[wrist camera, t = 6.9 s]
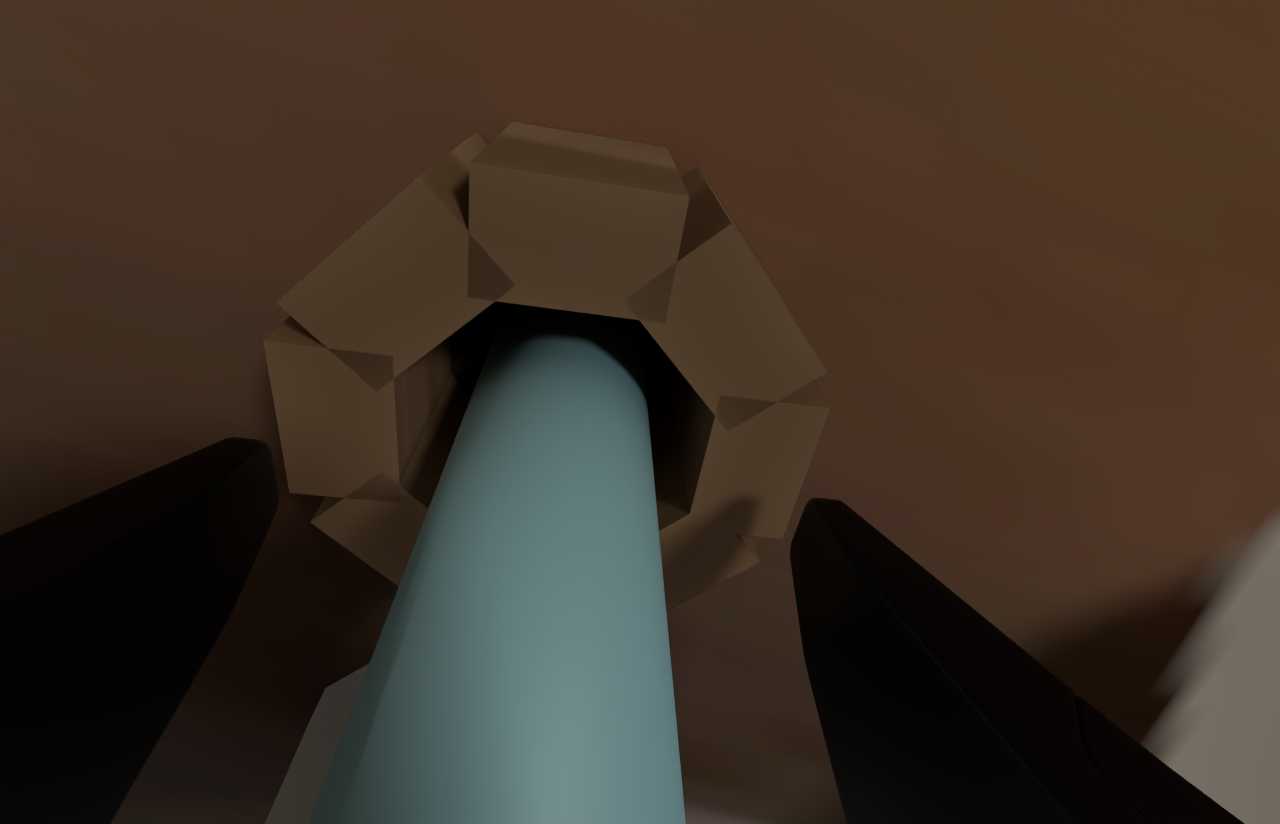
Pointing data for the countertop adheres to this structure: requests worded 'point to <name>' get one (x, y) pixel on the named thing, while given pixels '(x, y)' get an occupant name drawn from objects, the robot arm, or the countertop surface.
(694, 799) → the countertop surface
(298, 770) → the cup
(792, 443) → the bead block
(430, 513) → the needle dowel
